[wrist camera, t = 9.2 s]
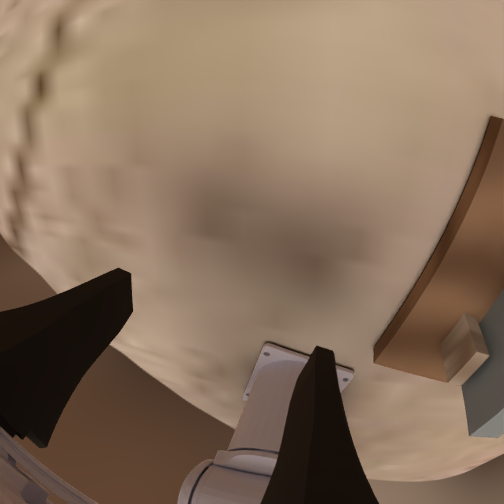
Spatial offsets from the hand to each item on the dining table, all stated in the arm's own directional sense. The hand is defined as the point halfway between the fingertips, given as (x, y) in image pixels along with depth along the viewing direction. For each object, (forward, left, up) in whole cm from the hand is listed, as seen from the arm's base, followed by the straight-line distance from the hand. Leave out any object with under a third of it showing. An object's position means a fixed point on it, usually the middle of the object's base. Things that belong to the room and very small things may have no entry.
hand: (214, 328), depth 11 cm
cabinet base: (+2, -17, -9) cm, 20 cm away
